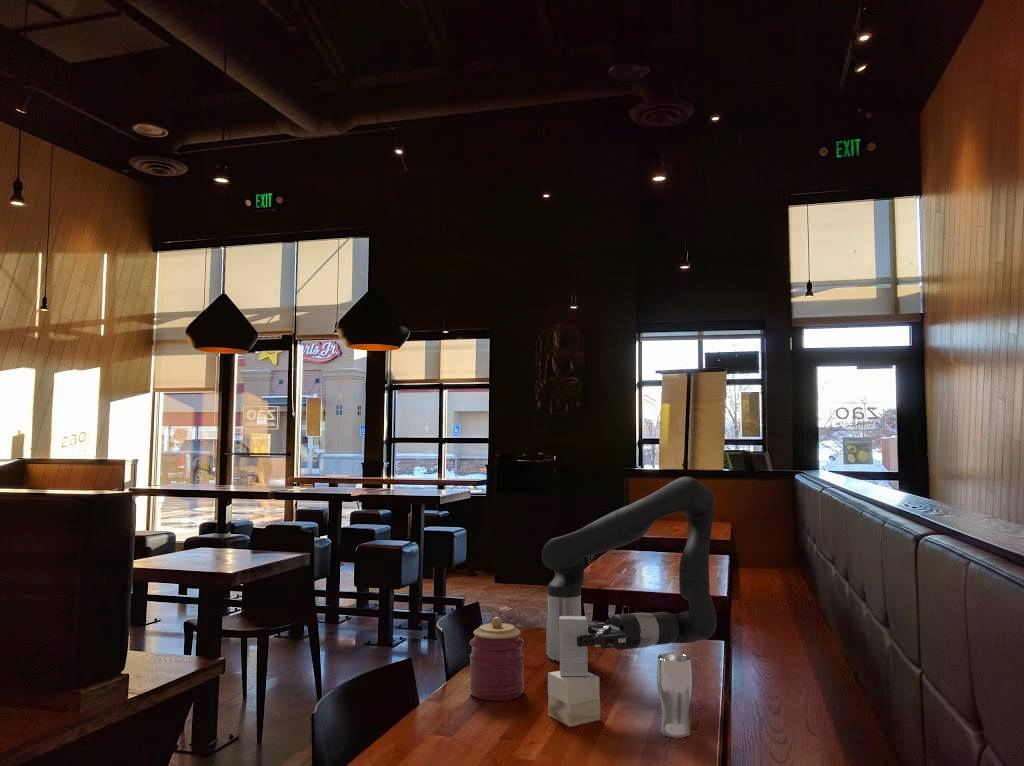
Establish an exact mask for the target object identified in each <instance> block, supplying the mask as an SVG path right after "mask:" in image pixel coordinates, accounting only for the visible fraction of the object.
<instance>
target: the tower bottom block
mask: <svg viewBox="0 0 1024 766" xmlns="http://www.w3.org/2000/svg"><path fill="white" fill-rule="evenodd" d="M547 694H548V693H547ZM547 697H548V699H547V700H548V703H547V707H548V708H547V712H548V713H547V716H549V717H551V718H553V719H555V720H556V721H558V722H560V723H562V724H564V725H566V726H568V727H575V726H579V725H583V724H588V723H593V722H595V721H601V698H600V697H599V699H596V700H590V701H585V702H580V703H574V704H569V705H568V704H566V703H564V702H562V701H560V700H558V699H557V698H555V697H553V696H551V695H549V694H548V695H547Z"/></svg>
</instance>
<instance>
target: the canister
mask: <svg viewBox="0 0 1024 766" xmlns="http://www.w3.org/2000/svg"><path fill="white" fill-rule="evenodd" d="M472 633H473V635H474V637H473V638H471V639H470V640H469V645H470V646H471V653H470V654H469V659H470V661H469V662H470V666H469V667H470V668H469V669H470V671H469V672H470V673H469V676H470V677H469V683H468V684H469V686H468V687H469V692H470V695H472V696H473V697H474V698H476V699H478V700H479V699H480V700H483V701H492V702H497V701H498V702H499V701H500V702H501V701H511V700H514V699H517V698H519V697H521V696H522V695H523V694H524V689H525V685H524V684H525V681H524V660H525V656H524V654H523V649H522V648H523V646H524V645H525V641H524V640H523V639H522V638H521V637H520V635H521V630H520V629H518V628H516V627H515V626H514V625H513V624H510V623H503V619H502V617H499V616H494V617H493V618H492V619H491V622H490V623H484V624H481V625H480V626H478V628H476V629H474V630H473V632H472Z"/></svg>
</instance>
